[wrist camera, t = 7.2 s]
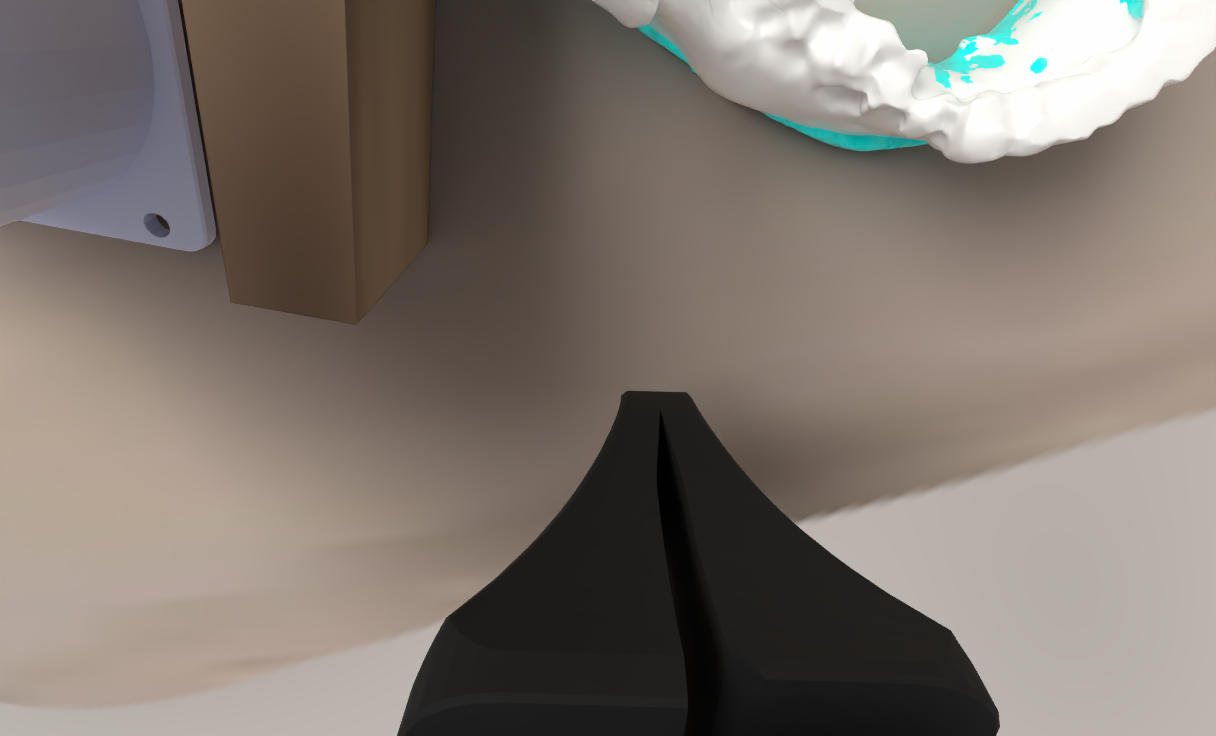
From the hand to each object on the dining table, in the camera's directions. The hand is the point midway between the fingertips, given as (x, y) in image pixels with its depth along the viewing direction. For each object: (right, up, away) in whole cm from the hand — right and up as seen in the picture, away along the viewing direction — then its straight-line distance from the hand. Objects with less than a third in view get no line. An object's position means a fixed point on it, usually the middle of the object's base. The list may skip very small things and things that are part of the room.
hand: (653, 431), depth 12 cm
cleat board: (0, +16, -6) cm, 17 cm away
